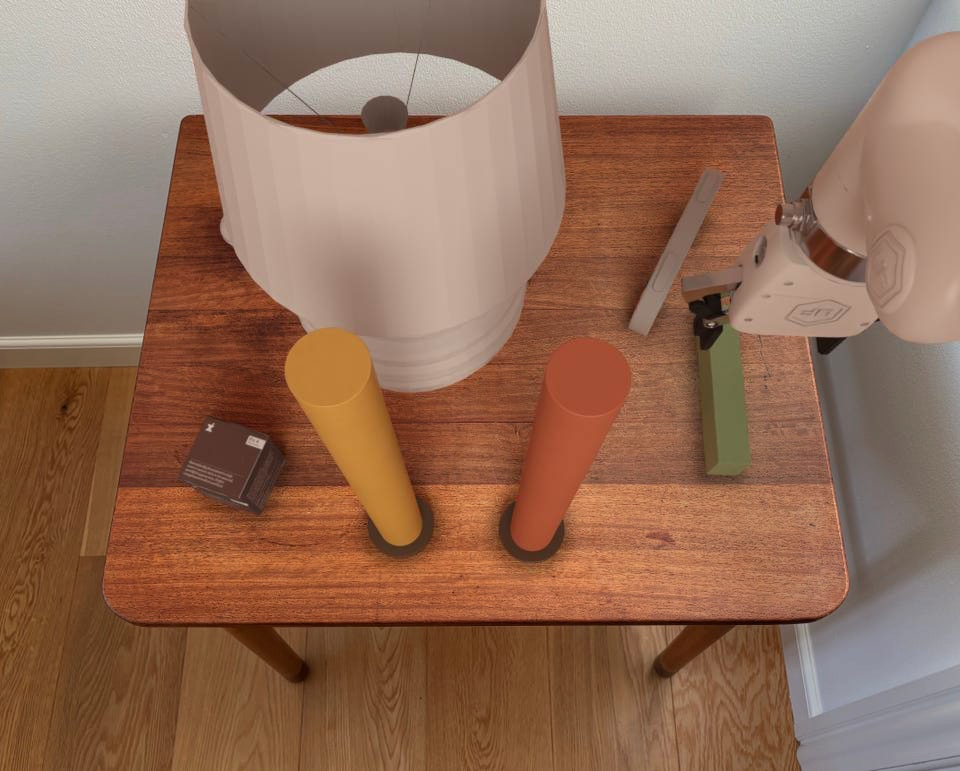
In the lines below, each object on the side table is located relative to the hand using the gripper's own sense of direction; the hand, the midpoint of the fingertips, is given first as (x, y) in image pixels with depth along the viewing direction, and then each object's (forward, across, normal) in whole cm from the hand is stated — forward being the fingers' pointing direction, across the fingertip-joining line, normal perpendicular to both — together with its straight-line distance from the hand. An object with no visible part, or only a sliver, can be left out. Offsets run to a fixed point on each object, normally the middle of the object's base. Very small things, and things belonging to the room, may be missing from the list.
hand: (761, 336), depth 63 cm
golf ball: (+14, -49, +16) cm, 53 cm away
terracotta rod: (+13, -18, -14) cm, 27 cm away
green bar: (+13, 0, 0) cm, 13 cm away
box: (+14, -45, -10) cm, 48 cm away
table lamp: (+14, -30, +6) cm, 34 cm away
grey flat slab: (+14, -4, +14) cm, 20 cm away
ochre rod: (+13, -30, -14) cm, 36 cm away
